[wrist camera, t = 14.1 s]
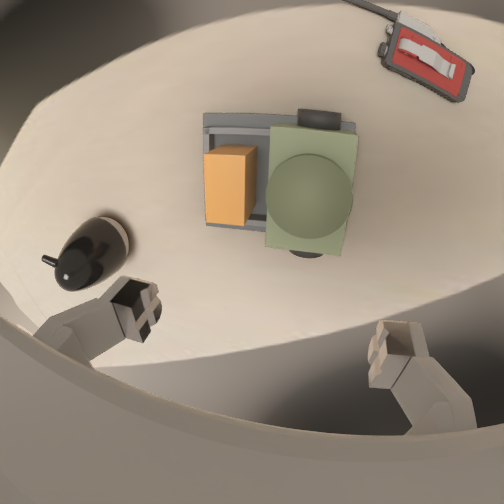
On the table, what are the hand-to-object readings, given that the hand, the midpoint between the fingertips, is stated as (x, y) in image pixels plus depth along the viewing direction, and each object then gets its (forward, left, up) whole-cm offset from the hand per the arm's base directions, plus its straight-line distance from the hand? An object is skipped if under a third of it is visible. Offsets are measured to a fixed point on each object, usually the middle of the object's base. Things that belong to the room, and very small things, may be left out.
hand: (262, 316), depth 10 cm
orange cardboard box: (+8, +3, -28) cm, 30 cm away
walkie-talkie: (-13, -17, -30) cm, 37 cm away
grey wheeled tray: (+3, +3, -29) cm, 30 cm away
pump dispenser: (+31, +15, -30) cm, 45 cm away
